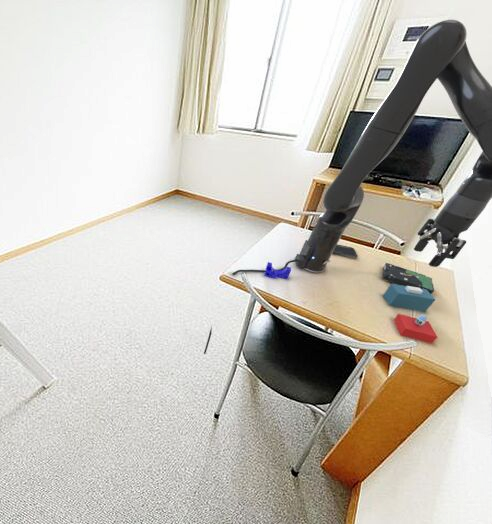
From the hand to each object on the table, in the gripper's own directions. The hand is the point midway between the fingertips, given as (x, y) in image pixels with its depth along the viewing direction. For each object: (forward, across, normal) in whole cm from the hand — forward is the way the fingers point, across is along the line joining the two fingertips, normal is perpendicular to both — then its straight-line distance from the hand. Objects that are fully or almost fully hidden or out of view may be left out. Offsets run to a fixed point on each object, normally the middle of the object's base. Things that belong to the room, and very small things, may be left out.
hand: (424, 258), depth 94 cm
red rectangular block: (+18, +15, -2) cm, 23 cm away
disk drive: (+18, -13, +10) cm, 24 cm away
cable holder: (+18, -2, -39) cm, 43 cm away
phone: (+18, -29, -10) cm, 36 cm away
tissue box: (+17, +2, +3) cm, 18 cm away
